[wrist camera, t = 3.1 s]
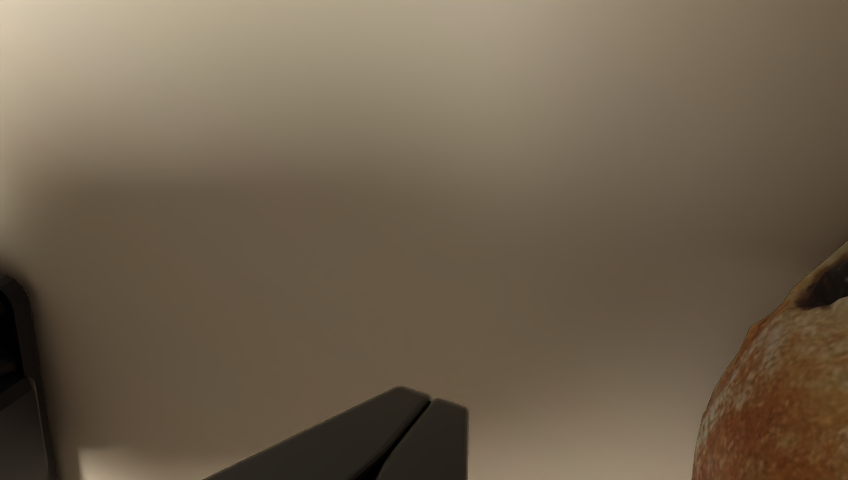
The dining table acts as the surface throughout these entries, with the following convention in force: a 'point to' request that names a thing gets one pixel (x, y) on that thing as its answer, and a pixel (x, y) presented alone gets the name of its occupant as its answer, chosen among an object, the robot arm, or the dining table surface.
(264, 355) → the dining table surface
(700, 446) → the bread roll
